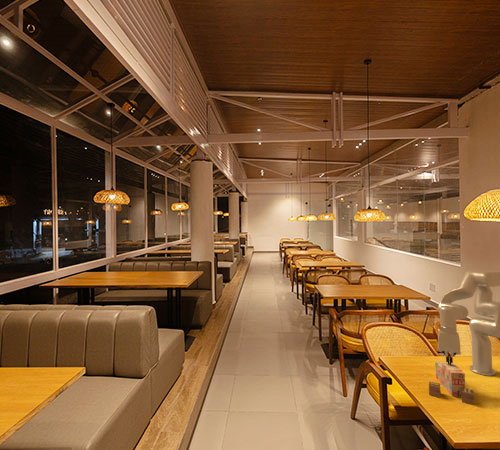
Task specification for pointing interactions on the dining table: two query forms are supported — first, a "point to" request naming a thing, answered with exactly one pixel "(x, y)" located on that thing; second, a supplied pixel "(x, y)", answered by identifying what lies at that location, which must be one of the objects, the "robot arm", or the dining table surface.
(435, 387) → the walnut cube one
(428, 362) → the dining table surface
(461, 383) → the stack of blocks
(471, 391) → the walnut cube two
